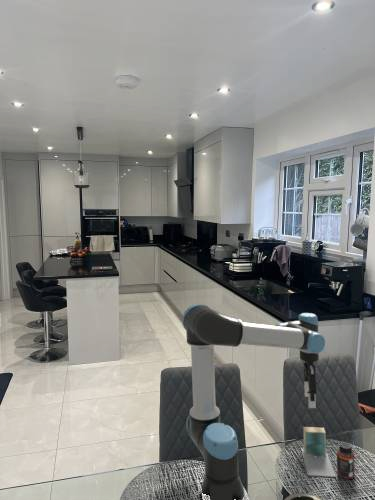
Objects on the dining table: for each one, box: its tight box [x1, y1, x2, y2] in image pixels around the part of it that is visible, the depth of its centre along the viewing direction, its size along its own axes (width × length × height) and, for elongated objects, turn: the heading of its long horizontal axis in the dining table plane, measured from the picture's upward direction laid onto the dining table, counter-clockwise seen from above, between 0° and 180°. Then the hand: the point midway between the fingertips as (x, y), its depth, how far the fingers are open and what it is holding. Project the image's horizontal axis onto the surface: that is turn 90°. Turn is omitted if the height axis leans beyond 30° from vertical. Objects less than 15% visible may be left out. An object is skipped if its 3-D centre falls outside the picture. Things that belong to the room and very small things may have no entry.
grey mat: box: [300, 447, 337, 478], centre depth 142 cm, size 10×16×1 cm, turn 172°
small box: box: [302, 426, 327, 457], centre depth 146 cm, size 8×4×10 cm, turn 81°
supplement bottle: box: [336, 441, 356, 480], centre depth 134 cm, size 6×6×11 cm
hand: (310, 401), depth 154 cm, fingers open, 9 cm apart
